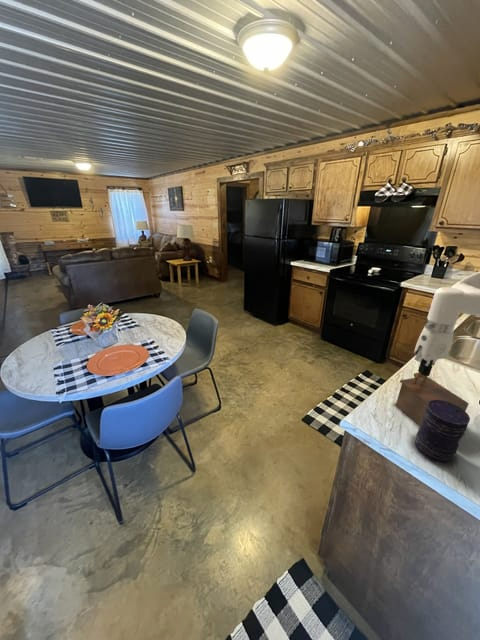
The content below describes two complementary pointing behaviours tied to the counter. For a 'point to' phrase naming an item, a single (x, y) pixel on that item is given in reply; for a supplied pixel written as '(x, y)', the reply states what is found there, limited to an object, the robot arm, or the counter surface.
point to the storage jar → (441, 431)
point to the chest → (413, 404)
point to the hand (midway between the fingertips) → (423, 373)
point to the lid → (431, 390)
